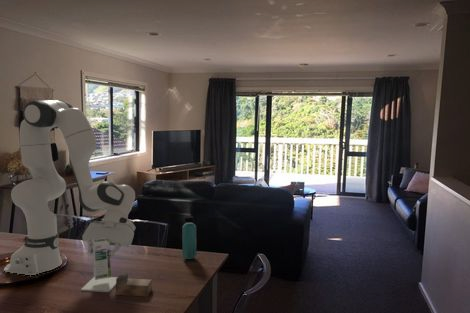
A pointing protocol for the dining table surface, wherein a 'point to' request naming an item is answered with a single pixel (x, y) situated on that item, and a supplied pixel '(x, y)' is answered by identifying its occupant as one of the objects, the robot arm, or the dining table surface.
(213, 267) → the dining table surface
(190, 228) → the beverage bottle
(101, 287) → the felt pad
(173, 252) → the dining table surface
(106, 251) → the syrup box
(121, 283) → the brown wooden block
